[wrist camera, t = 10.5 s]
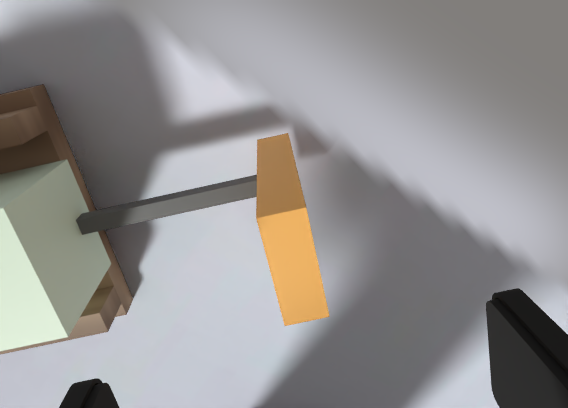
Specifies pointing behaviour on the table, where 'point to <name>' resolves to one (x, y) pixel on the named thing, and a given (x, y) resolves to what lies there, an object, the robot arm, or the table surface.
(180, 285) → the table surface
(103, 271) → the lane block
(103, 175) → the table surface
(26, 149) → the shelf lane
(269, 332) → the table surface
